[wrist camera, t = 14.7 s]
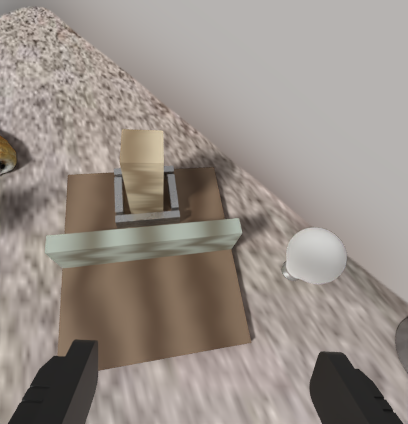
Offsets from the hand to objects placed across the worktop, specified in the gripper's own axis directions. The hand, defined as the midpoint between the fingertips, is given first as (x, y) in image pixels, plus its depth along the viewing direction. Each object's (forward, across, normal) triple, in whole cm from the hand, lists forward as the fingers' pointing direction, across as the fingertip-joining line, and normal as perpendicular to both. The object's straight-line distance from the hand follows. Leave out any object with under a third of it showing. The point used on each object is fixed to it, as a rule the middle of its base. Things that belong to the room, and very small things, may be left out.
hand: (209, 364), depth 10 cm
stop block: (+32, +6, +4) cm, 33 cm away
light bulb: (+27, -15, +11) cm, 32 cm away
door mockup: (+27, +4, +10) cm, 29 cm away
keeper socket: (+33, +6, +4) cm, 34 cm away
